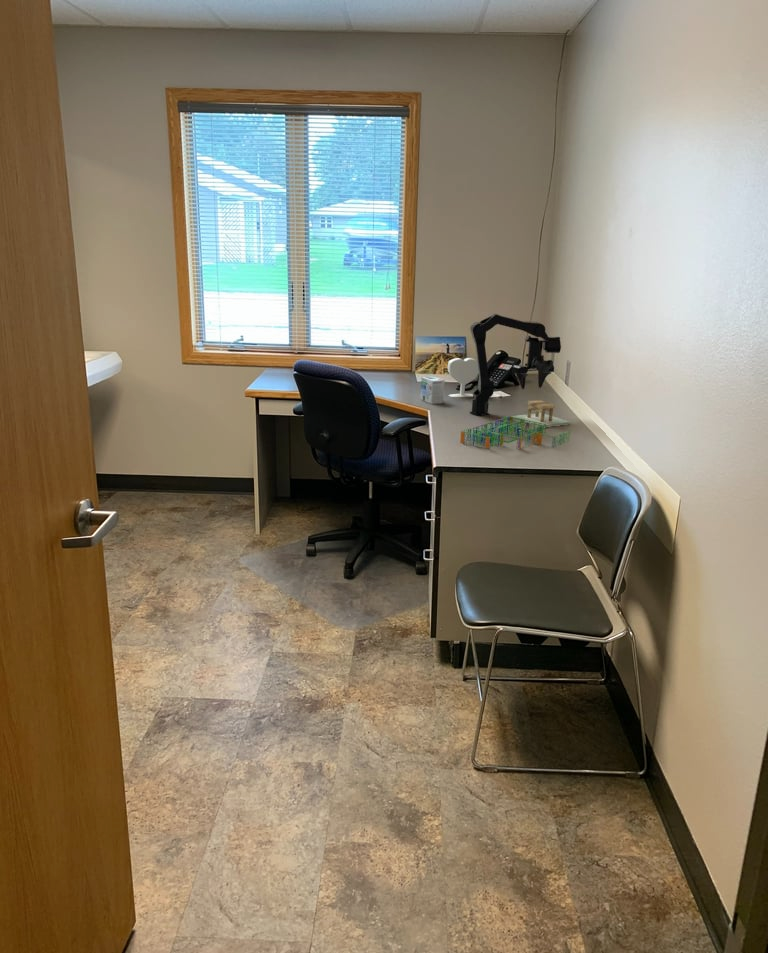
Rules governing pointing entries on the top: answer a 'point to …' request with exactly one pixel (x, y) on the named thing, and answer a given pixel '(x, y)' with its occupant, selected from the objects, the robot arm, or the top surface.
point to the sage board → (548, 423)
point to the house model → (502, 425)
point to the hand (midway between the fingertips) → (531, 388)
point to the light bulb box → (432, 390)
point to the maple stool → (540, 409)
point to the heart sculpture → (463, 373)
